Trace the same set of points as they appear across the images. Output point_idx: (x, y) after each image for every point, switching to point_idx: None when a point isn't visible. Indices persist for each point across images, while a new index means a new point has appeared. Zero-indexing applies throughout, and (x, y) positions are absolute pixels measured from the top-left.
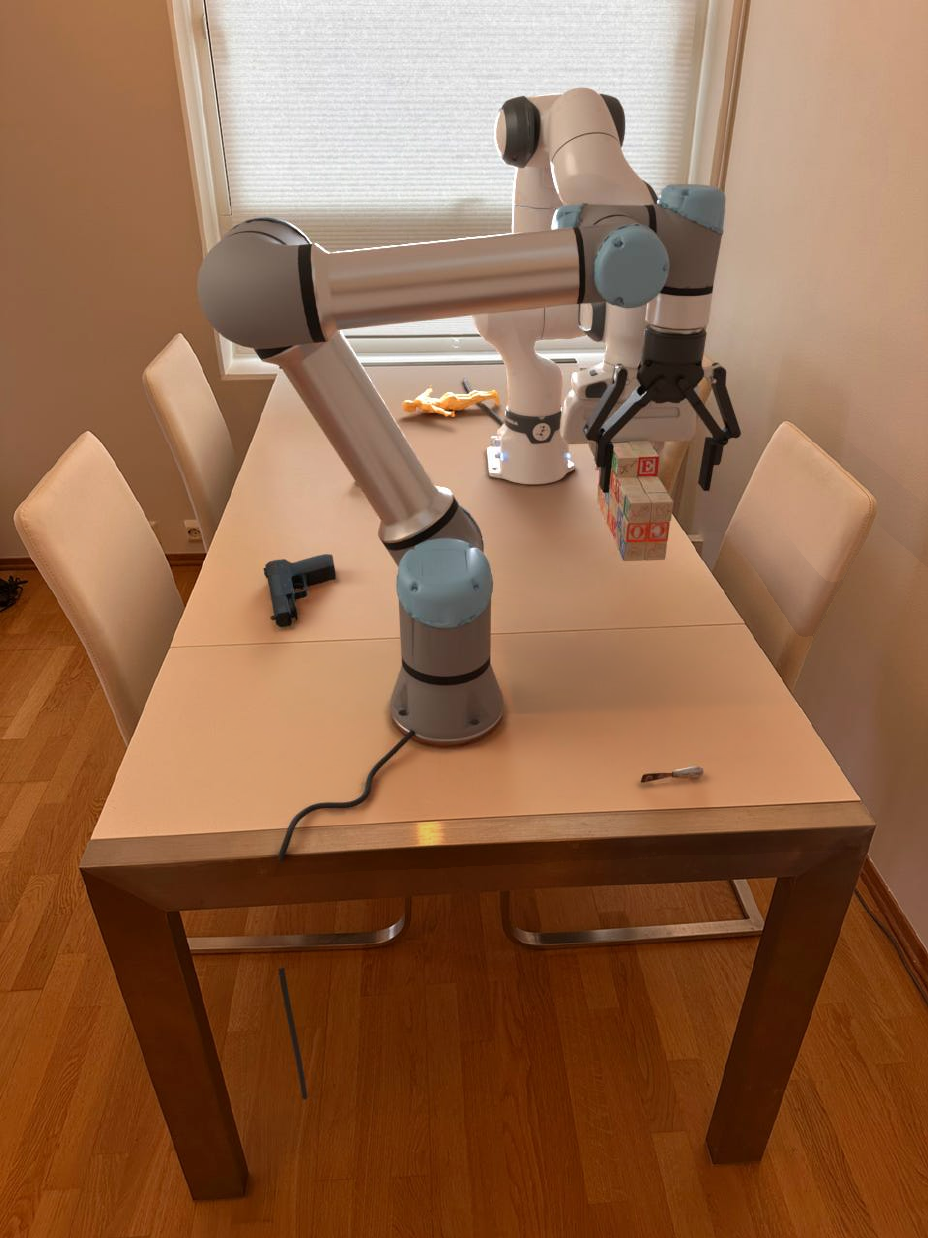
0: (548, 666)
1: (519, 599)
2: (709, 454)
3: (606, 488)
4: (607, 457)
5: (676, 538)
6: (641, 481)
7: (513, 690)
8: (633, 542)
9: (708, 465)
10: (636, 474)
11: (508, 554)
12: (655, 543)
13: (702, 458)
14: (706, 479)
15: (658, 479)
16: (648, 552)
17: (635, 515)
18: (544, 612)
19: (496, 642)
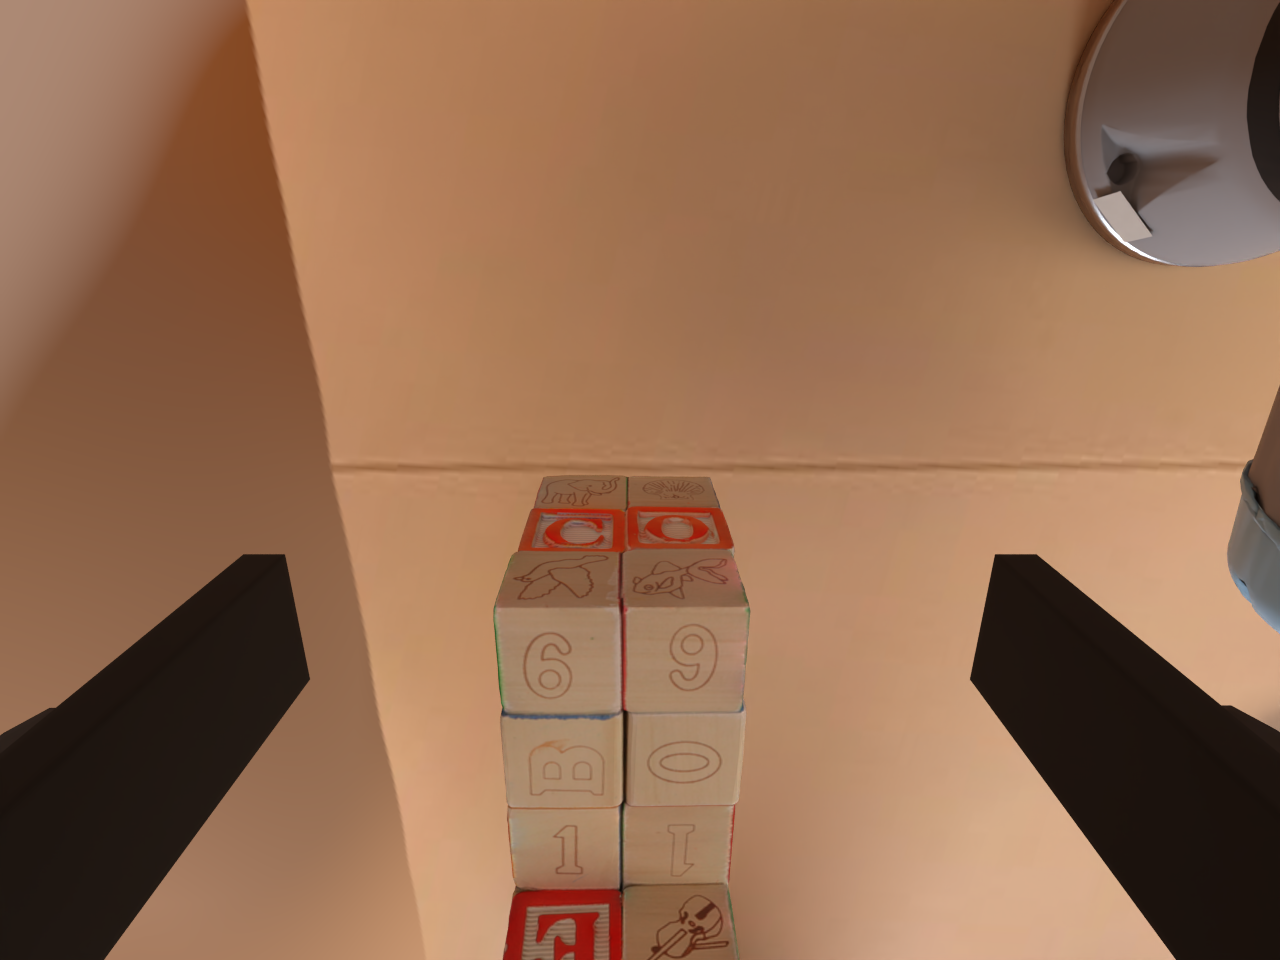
0: (882, 304)
1: (874, 615)
2: (66, 773)
3: (1034, 570)
4: (1269, 753)
5: (410, 852)
6: (614, 838)
7: (1008, 195)
8: (685, 506)
9: (146, 678)
10: (626, 899)
11: (847, 807)
12: (585, 505)
13: (193, 821)
14: (228, 599)
15: (517, 854)
16: (613, 487)
17: (703, 568)
18: (826, 554)
19: (987, 427)
